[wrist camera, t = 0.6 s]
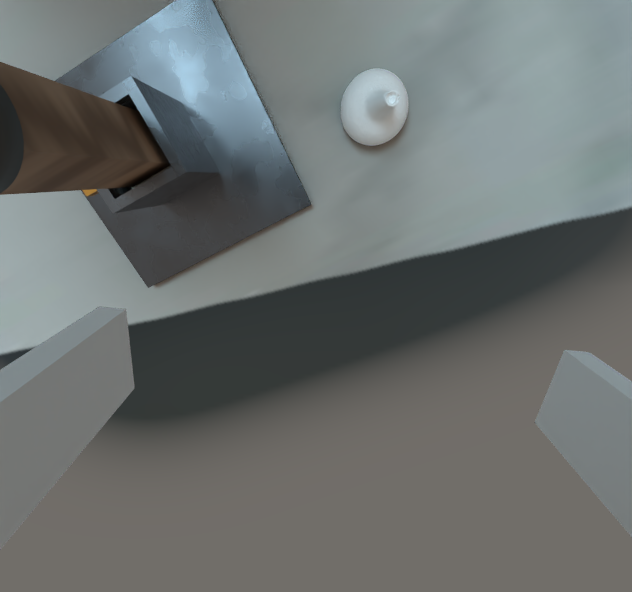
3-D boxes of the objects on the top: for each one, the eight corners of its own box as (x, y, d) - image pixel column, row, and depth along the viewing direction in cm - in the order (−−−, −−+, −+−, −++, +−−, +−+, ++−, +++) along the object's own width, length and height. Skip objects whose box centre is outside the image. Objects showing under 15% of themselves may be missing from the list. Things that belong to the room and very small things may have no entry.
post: (126, 140, 32) (-225, 76, 11) (176, 110, 31) (-108, -19, 10) (161, 196, 33) (-91, 229, 13) (209, 169, 32) (20, 158, 12)
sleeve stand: (31, 106, 33) (-87, 77, 23) (207, -11, 29) (154, -99, 20) (153, 284, 38) (98, 319, 29) (311, 203, 35) (307, 213, 26)
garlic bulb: (355, 63, 31) (366, 27, 24) (415, 90, 32) (443, 65, 24) (329, 132, 33) (332, 119, 26) (386, 157, 34) (405, 151, 26)
